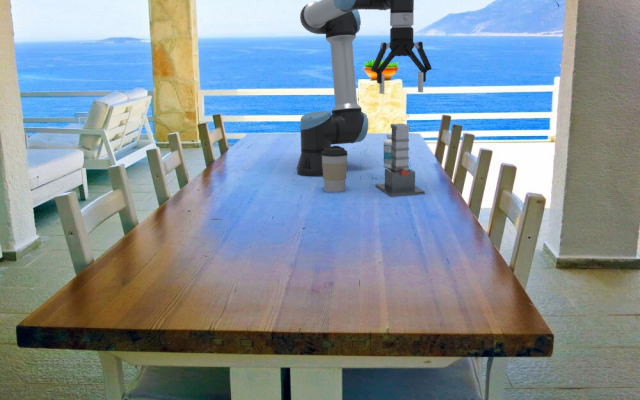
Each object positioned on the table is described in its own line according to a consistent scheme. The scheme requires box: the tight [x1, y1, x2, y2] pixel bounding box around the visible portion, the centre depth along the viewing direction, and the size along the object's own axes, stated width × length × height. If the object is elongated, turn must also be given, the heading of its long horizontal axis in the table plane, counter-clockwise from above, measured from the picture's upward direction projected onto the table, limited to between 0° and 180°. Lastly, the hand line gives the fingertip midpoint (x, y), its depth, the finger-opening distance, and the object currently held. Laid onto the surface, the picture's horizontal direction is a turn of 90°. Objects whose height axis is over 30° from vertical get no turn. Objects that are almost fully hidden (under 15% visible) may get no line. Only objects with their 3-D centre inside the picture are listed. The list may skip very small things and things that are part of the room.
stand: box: [375, 168, 426, 197], centre depth 233 cm, size 12×16×8 cm
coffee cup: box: [321, 145, 348, 193], centre depth 235 cm, size 9×9×15 cm
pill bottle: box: [383, 132, 392, 169], centre depth 275 cm, size 8×7×14 cm
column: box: [390, 123, 411, 172], centre depth 232 cm, size 4×6×21 cm
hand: (401, 93), depth 228 cm, fingers open, 13 cm apart
